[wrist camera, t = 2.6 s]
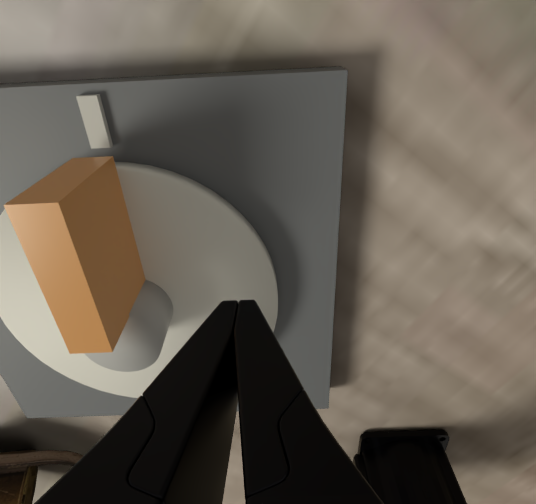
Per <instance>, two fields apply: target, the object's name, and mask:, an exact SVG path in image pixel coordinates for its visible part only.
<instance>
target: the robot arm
mask: <svg viewBox="0 0 536 504" xmlns="http://www.w3.org/2000/svg"><path fill="white" fill-rule="evenodd" d="M142 395H143V396H140V397H139V398H138V399H137V400H136V401H135V402H134V404H133V405H132V406H131V407H130V408H129V409H128V410H127V411H126V413H125V414H124V415H123V416H122V417H121V418H120V419H119V420H118V421H117V423H116V424H115V425H114V426H113V427H112V428H111V429H110V430H109V431H108V432H107V433H106V434H105V435H104V436H103V437H102V438H101V439H100V440H99V441H98V442H97V443H96V444H95V445H94V446H93V447H92V448H91V449H90V450H89V451H88V452H87V453H86V454H85V455H84V456H83V457H82V458H81V459H80V460H79V461H78V462H77V463H76V464H75V465H74V466H73V467H72V468H71V469H70V470H69V471H67V472H66V473H65V474H64V475H63V476H62V477H61V478H60V479H59V480H58V481H57V482H56V483H55V484H54V485H53V486H52V487H51V488H50V489H49V490H48V491H47V492H46V493H45V494H44V495H43V496H42V497H41V498H40V499H39V500H37V501H36V502H35V503H34V504H222V501H223V494H224V488H225V481H226V475H227V469H228V462H229V456H230V449H231V443H232V437H233V430H234V424H235V417H236V411H237V405H238V407H239V420H240V434H241V448H242V462H243V475H244V489H245V500H246V504H467V503H466V500H465V498H464V496H463V493H462V491H461V488H460V486H459V484H458V481H457V479H456V477H455V474H454V472H453V469H452V467H451V465H450V462H449V460H448V458H447V455H446V453H445V450H446V447H447V444H448V441H449V436H448V434H447V432H446V431H444V430H429V431H397V432H367V433H363V434H361V436H360V440H359V448H358V454H356V455H355V456H354V459H353V462H352V461H351V459H350V458H349V457H348V455H347V454H346V453H345V451H344V450H343V449H342V447H341V446H340V445H339V443H338V442H337V441H336V439H335V438H334V436H333V435H332V433H331V432H330V430H329V429H328V428H327V426H326V425H325V423H324V422H323V420H322V419H321V417H320V415H319V414H318V412H317V410H316V409H315V407H314V405H313V404H312V402H311V400H310V398H309V396H308V395H307V393H306V391H305V390H304V388H303V386H302V384H301V382H300V380H299V379H298V377H297V375H296V373H295V371H294V369H293V368H292V366H291V364H290V362H289V360H288V359H287V357H286V355H285V353H284V351H283V349H282V348H281V346H280V344H279V342H278V340H277V339H276V337H275V335H274V333H273V331H272V329H271V328H270V326H269V324H268V322H267V320H266V319H265V317H264V315H263V313H262V311H261V310H260V308H259V306H258V304H257V302H256V301H255V300H253V299H252V300H240V301H239V302H238V301H237V300H226V301H222V302H220V303H219V305H218V306H217V307H216V308H215V309H214V310H213V312H212V313H211V314H210V315H209V316H208V317H207V319H206V320H205V321H204V322H203V323H202V324H201V326H200V327H199V328H198V329H197V330H196V331H195V333H194V334H193V335H192V336H191V337H190V338H189V340H188V341H187V342H186V343H185V344H184V345H183V347H182V348H181V349H180V350H179V351H178V352H177V354H176V355H175V356H174V357H173V358H172V359H171V361H170V362H169V363H168V364H167V365H166V366H165V368H164V369H163V370H162V371H161V372H160V373H159V375H158V376H157V377H156V378H155V379H154V380H153V382H152V383H151V384H150V385H149V386H148V387H147V389H146V390H145V391H144V392H143V394H142Z"/></svg>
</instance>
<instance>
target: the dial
mask: <svg viewBox="0 0 536 504" xmlns="http://www.w3.org/2000/svg"><path fill="white" fill-rule="evenodd" d="M4 208H5V209H4V211H3V212H2V213H1V215H0V317H1V319H2V321H3V322H4V324H5V325H6V327H7V328H8V329H9V330H10V332H11V333H12V334H13V335H14V337H15V338H16V339H17V340H18V341H19V342H20V343H21V344H22V345H23V346H24V347H25V348H26V349H27V350H28V351H29V352H31V353H32V354H33V355H34V356H35V357H37V358H38V359H39V360H40V361H42V362H43V363H45V364H46V365H48V366H49V367H51V368H52V369H54V370H55V371H57V372H59V373H61V374H63V375H64V376H66V377H68V378H70V379H72V380H74V381H77V382H79V383H81V384H83V385H86V386H89V387H92V388H94V389H97V390H100V391H104V392H108V393H112V394H115V395H121V396H126V397H132V398H139V397H140V396H143V395H142V394H143V392H144V391H145V390H146V389H147V387H148V386H149V385H150V384H151V383H152V382H153V380H154V379H155V378H156V377H157V376H158V375H159V373H160V372H161V371H162V370H163V369H164V368H165V366H166V365H167V364H168V363H169V362H170V361H171V359H172V358H173V357H174V356H175V355H176V354H177V352H178V351H179V350H180V349H181V348H182V347H183V345H184V344H185V343H186V342H187V341H188V340H189V338H190V337H191V336H192V335H193V334H194V333H195V331H196V330H197V329H198V328H199V327H200V326H201V324H202V323H203V322H204V321H205V320H206V319H207V317H208V316H209V315H210V314H211V313H212V312H213V310H214V309H215V308H216V307H217V306H218V305H219V303H220V302H222V301H226V300H237V301H238V302H239V301H240V300H252V299H253V300H255V301H256V302H257V304H258V306H259V308H260V310H261V311H262V313H263V315H264V317H265V319H266V320H267V322H268V324H269V326H270V328H271V329H272V331H273V332H274V329H275V325H276V320H277V314H278V289H277V281H276V274H275V270H274V267H273V263H272V260H271V257H270V255H269V253H268V251H267V249H266V246H265V244H264V243H263V241H262V240H261V238H260V236H259V235H258V233H257V232H256V230H255V229H254V228H253V227H252V225H251V224H250V223H249V222H248V221H247V219H246V218H245V217H244V216H243V215H242V214H241V213H240V212H239V211H238V210H237V209H236V208H234V207H233V206H232V205H231V204H230V203H229V202H228V201H226V200H225V199H224V198H222V197H221V196H219V195H218V194H216V193H215V192H214V191H212V190H211V189H209V188H207V187H205V186H203V185H202V184H200V183H198V182H196V181H194V180H192V179H190V178H187V177H185V176H182V175H180V174H177V173H175V172H172V171H169V170H166V169H162V168H158V167H154V166H151V165H144V164H137V163H130V162H114V158H113V156H105V157H84V158H72V159H70V160H69V161H68V162H66V163H65V164H63V165H62V166H60V167H59V168H57V169H56V170H54V171H53V172H51V173H50V174H48V175H47V176H45V177H44V178H42V179H41V180H40V181H38V182H37V183H35V184H34V185H32V186H31V187H29V188H28V189H26V190H25V191H23V192H22V193H20V194H19V195H17V196H16V197H15V198H13V199H12V200H10V201H9V202H7V203H6V204H4Z"/></svg>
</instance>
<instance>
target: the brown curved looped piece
mask: <svg viewBox="0 0 536 504" xmlns="http://www.w3.org/2000/svg"><path fill="white" fill-rule="evenodd" d="M82 457H83V456H82V455H80V454H78V453H74V452H70V451H56V450H45V451H36V450H23V451H13V452H2V453H0V504H32V501H33V496H34V492H35V486H36V478H37V472H38V465H45V464H63V465H70V466H74V465H75V464H76V463H77V462H78V461H79V460H80V459H81V458H82Z"/></svg>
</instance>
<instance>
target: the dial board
mask: <svg viewBox="0 0 536 504" xmlns="http://www.w3.org/2000/svg"><path fill="white" fill-rule="evenodd" d="M347 75H348V70H347V69H345V68H343V67H341V66H339V67H319V68H300V69H281V70H262V71H243V72H223V73H204V74H185V75H166V76H147V77H127V78H108V79H89V80H70V81H51V82H31V83H12V84H0V215H1V213H2V212H3V211H4V209H5V208H4V204H6V203H7V202H9V201H10V200H12V199H13V198H15V197H16V196H17V195H19V194H20V193H22V192H23V191H25V190H26V189H28V188H29V187H31V186H32V185H34V184H35V183H37V182H38V181H40V180H41V179H42V178H44V177H45V176H47V175H48V174H50V173H51V172H53V171H54V170H56V169H57V168H59V167H60V166H62V165H63V164H65V163H66V162H68V161H69V160H70V159H72V158H84V157H105V156H113V158H114V162H130V163H137V164H144V165H151V166H154V167H158V168H162V169H166V170H169V171H172V172H175V173H177V174H180V175H182V176H185V177H187V178H190V179H192V180H194V181H196V182H198V183H200V184H202V185H203V186H205V187H207V188H209V189H211V190H212V191H214V192H215V193H216V194H218V195H219V196H221V197H222V198H224V199H225V200H226V201H228V202H229V203H230V204H231V205H232V206H233V207H234V208H236V209H237V210H238V211H239V212H240V213H241V214H242V215H243V216H244V217H245V218H246V219H247V221H248V222H249V223H250V224H251V225H252V227H253V228H254V229H255V230H256V232H257V233H258V235H259V236H260V238H261V240H262V241H263V243H264V244H265V246H266V249H267V251H268V253H269V255H270V257H271V260H272V263H273V267H274V270H275V274H276V281H277V289H278V314H277V320H276V325H275V329H274V332H273V333H274V335H275V337H276V339H277V340H278V342H279V344H280V346H281V348H282V349H283V351H284V353H285V355H286V357H287V359H288V360H289V362H290V364H291V366H292V368H293V369H294V371H295V373H296V375H297V377H298V379H299V380H300V382H301V384H302V386H303V388H304V390H305V391H306V393H307V395H308V396H309V398H310V400H311V402H312V404H313V405H314V407H315V409H325V408H328V407H329V390H330V372H331V355H332V337H333V320H334V302H335V285H336V267H337V250H338V232H339V215H340V197H341V180H342V162H343V145H344V127H345V110H346V92H347ZM0 374H1V376H2V378H3V379H4V381H5V383H6V384H7V386H8V387H9V389H10V391H11V392H12V394H13V396H14V397H15V399H16V401H17V402H18V404H19V406H20V407H21V409H22V411H23V412H24V414H25V416H26V417H27V418H49V417H80V416H110V415H124V414H125V413H126V411H127V410H128V409H129V408H130V407H131V406H132V405H133V404H134V402H135V401H136V400H137V399H138V398H132V397H126V396H121V395H115V394H112V393H108V392H104V391H100V390H97V389H94V388H92V387H89V386H86V385H83V384H81V383H79V382H77V381H74V380H72V379H70V378H68V377H66V376H64V375H63V374H61V373H59V372H57V371H55V370H54V369H52V368H51V367H49V366H48V365H46V364H45V363H43V362H42V361H40V360H39V359H38V358H37V357H35V356H34V355H33V354H32V353H31V352H29V351H28V350H27V349H26V348H25V347H24V346H23V345H22V344H21V343H20V342H19V341H18V340H17V339H16V338H15V337H14V335H13V334H12V333H11V332H10V330H9V329H8V328H7V327H6V325H5V324H4V322H3V321H2V319H1V317H0ZM237 411H239V407H238V405H237Z"/></svg>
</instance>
